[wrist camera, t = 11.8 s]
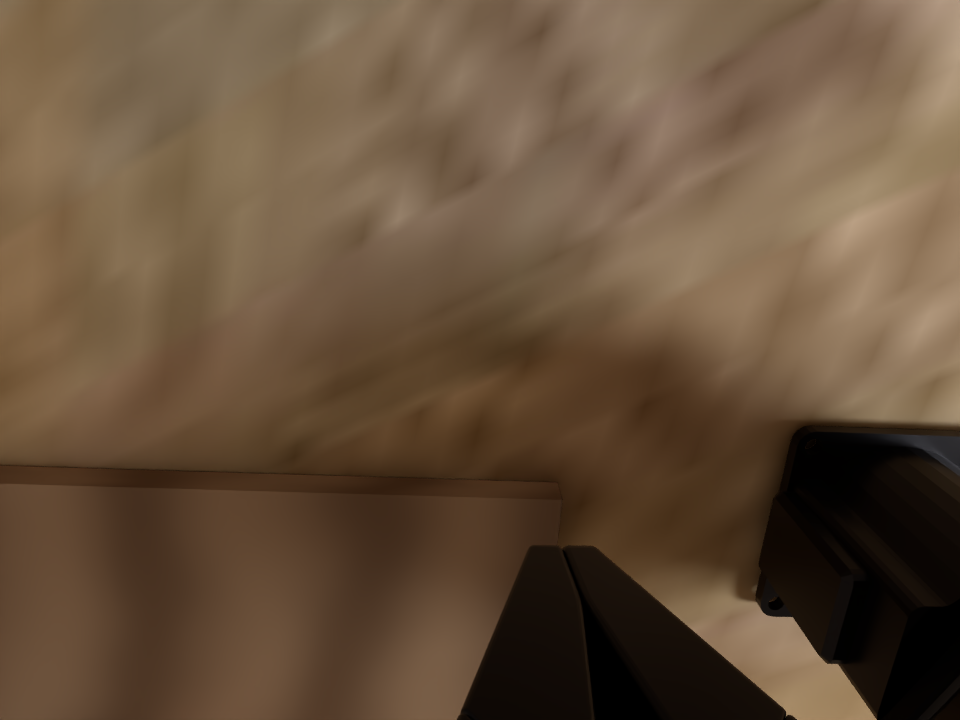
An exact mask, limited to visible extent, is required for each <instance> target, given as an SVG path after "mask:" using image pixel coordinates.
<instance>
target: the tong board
mask: <svg viewBox="0 0 960 720" xmlns="http://www.w3.org/2000/svg"><path fill="white" fill-rule="evenodd" d="M561 508H562V497H561V494H560V490H559V487H558V483H557V482H525V481H492V480H459V479H426V478H393V477H360V476H327V475H294V474H261V473H229V472H196V471H163V470H130V469H97V468H64V467H31V466H0V720H457V718H458V716H459V715H460V712H461V709H462V707H463V704H464V702H465V700H466V697H467V695H468V692H469V690H470V688H471V685H472V683H473V680H474V678H475V675H476V673H477V671H478V668H479V666H480V663H481V661H482V659H483V656H484V654H485V651H486V649H487V647H488V644H489V642H490V639H491V637H492V634H493V632H494V630H495V627H496V625H497V622H498V620H499V618H500V615H501V613H502V610H503V608H504V606H505V603H506V601H507V598H508V596H509V594H510V591H511V589H512V586H513V584H514V581H515V579H516V577H517V574H518V572H519V569H520V567H521V565H522V562H523V560H524V557H525V555H526V553H527V550H528V548H529V547H530V546H531V545H557V544H558V535H559V526H560V517H561Z"/></svg>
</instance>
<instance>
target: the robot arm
mask: <svg viewBox="0 0 960 720" xmlns="http://www.w3.org/2000/svg"><path fill="white" fill-rule="evenodd" d="M814 439H816V442H815V444H814V445H813V446H812V447H811V448H807V449H805V446H806V444H807V443H808V442H809V441H811V440H814ZM759 567H760V569H761V574H760V578H759V582H758V587H757V591H756V601H757V603H758V605H759V607H760V608H761V610H762V611H763V613H765V614H766V615H768V616H774V617H793V618H794V619H795V621H796V622H797V624H798V625H799V627H800V628H801V630H802V631H803V633H804V634H805V636H806V637H807V639H808V640H809V642H810V643H811V645H812V646H813V648H814V649H815V650H816V652H817V653H818V655H819V656H820V657H821V658H822V659H823V660H824V661H825V662H826V663H827V664H838V665H839V666H840V667H841V669H842V670H843V672H844V673H845V675H846V676H847V677H848V679H849V680H850V682H851V683H852V685H853V686H854V687H855V689H856V690H857V692H858V693H859V695H860V696H861V698H862V699H863V700H864V702H865V703H866V705H867V706H868V708H869V709H870V710H871V712H872V713H873V715H874V716H875V718H876V719H877V720H960V431H948V430H920V429H892V428H864V427H836V426H805V427H802V428H801V429H799V430H797V431H796V432H795V434H794V435H793V437H792V439H791V442H790V446H789V451H788V455H787V460H786V464H785V468H784V473H783V477H782V481H781V486H780V490H779V492H778V493H777V495H776V496H775V497H774V498H773V502H772V506H771V511H770V515H769V520H768V524H767V529H766V533H765V537H764V542H763V546H762V551H761V555H760V560H759ZM774 597H778V598H777V599H776V600H774V601H772V602H769V601H770V600H771V599H772V598H774ZM785 717H786V718H785ZM457 720H797V719H795V718H794V717H793V716H791V715H787V716H786V711H785V710H784V709H783V708H782V707H781V706H780V705H779V704H778V703H776V702H775V701H774V700H773V699H772V698H771V697H769V696H768V695H767V694H766V693H765V692H764V691H762V690H761V689H760V688H759V687H758V686H757V685H755V684H754V683H753V682H752V681H751V680H750V679H748V678H747V677H746V676H745V675H744V674H743V673H742V672H740V671H739V670H738V669H737V668H736V667H735V666H733V665H732V664H731V663H730V662H729V661H728V660H726V659H725V658H724V657H723V656H722V655H721V654H719V653H718V652H717V651H716V650H715V649H714V648H712V647H711V646H710V645H709V644H708V643H707V642H705V641H704V640H703V639H702V638H701V637H700V636H698V635H697V634H696V633H695V632H694V631H693V630H691V629H690V628H689V627H688V626H687V625H686V624H684V623H683V622H682V621H681V620H680V619H679V618H677V617H676V616H675V615H674V614H673V613H672V612H670V611H669V610H668V609H667V608H666V607H665V606H663V605H662V604H661V603H660V602H659V601H658V600H656V599H655V598H654V597H653V596H652V595H651V594H649V593H648V592H647V591H646V590H645V589H644V588H642V587H641V586H640V585H639V584H638V583H637V582H636V581H634V580H633V579H632V578H631V577H630V576H629V575H627V574H626V573H625V572H624V571H623V570H622V569H620V568H619V567H618V566H617V565H616V564H615V563H613V562H612V561H611V560H610V559H609V558H608V557H606V556H605V555H604V554H603V553H602V552H601V551H599V550H598V549H597V548H595V547H593V546H565V547H563V549H562V548H561V547H559V546H557V545H531V546H530V547H529V548H528V550H527V553H526V555H525V557H524V560H523V562H522V565H521V567H520V569H519V572H518V574H517V577H516V579H515V581H514V584H513V586H512V589H511V591H510V594H509V596H508V598H507V601H506V603H505V606H504V608H503V610H502V613H501V615H500V618H499V620H498V622H497V625H496V627H495V630H494V632H493V634H492V637H491V639H490V642H489V644H488V647H487V649H486V651H485V654H484V656H483V659H482V661H481V663H480V666H479V668H478V671H477V673H476V675H475V678H474V680H473V683H472V685H471V688H470V690H469V692H468V695H467V697H466V700H465V702H464V704H463V707H462V709H461V712H460V715H459V716H458V718H457Z"/></svg>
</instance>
